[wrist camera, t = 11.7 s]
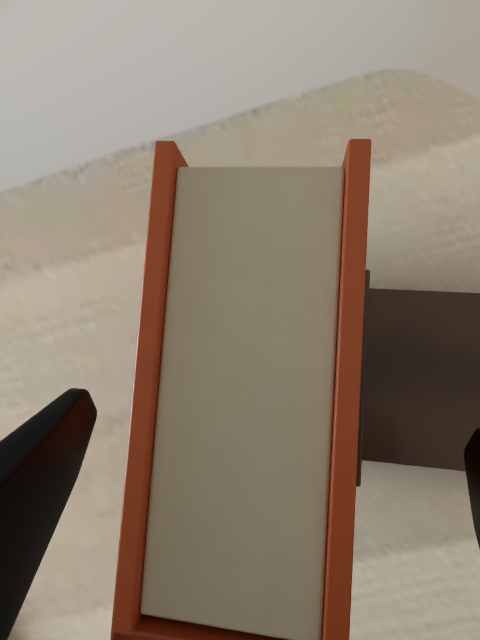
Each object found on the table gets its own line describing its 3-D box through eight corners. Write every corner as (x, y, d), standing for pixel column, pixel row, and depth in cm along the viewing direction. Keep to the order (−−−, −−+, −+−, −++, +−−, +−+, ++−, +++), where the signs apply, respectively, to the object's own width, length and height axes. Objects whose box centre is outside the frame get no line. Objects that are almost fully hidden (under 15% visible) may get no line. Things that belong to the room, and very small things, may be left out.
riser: (581, 473, 18) (715, 528, 13) (217, 435, 21) (186, 467, 15) (581, 304, 19) (709, 282, 13) (228, 288, 22) (202, 263, 16)
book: (312, 467, 14) (346, 707, 5) (231, 458, 15) (107, 660, 5) (322, 280, 15) (371, 137, 5) (244, 277, 15) (154, 139, 6)
